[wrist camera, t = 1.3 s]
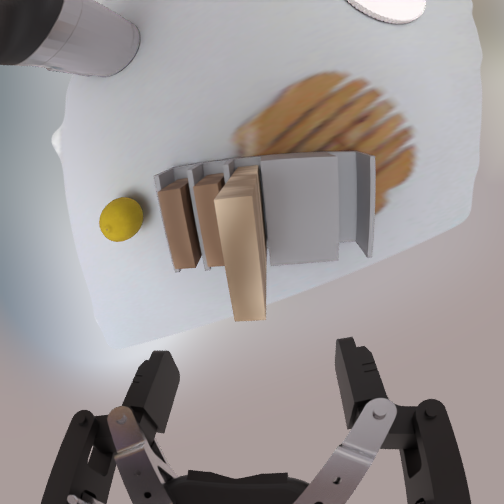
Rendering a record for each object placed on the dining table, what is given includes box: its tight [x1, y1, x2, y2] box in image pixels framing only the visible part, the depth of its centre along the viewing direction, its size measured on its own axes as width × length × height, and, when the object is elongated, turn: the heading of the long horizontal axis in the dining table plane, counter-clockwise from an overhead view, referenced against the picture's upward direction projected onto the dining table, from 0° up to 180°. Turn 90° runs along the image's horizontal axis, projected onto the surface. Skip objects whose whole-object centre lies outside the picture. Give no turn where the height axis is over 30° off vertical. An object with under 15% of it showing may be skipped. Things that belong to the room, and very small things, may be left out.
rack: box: [154, 151, 375, 272], centre depth 32 cm, size 24×12×6 cm, turn 96°
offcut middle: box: [193, 173, 225, 267], centre depth 31 cm, size 2×9×7 cm, turn 6°
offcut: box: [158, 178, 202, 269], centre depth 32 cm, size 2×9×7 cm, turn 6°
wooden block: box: [214, 165, 267, 321], centre depth 27 cm, size 2×10×16 cm, turn 6°
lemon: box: [99, 197, 143, 242], centre depth 33 cm, size 6×6×8 cm
